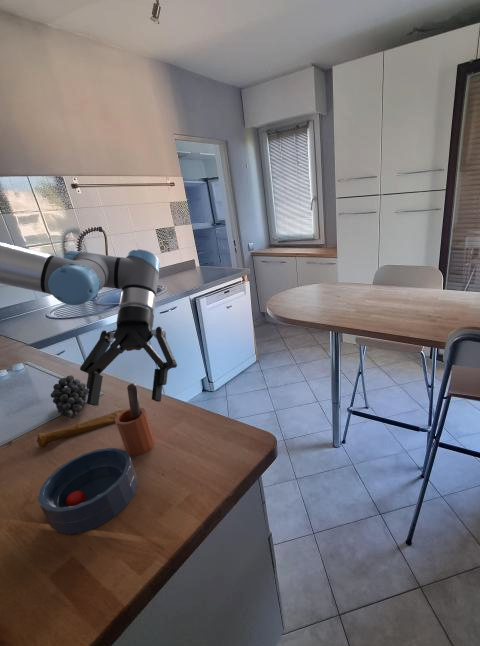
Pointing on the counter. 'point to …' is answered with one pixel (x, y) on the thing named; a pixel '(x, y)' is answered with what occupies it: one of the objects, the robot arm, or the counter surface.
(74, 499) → the tomato
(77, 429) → the primitive tool
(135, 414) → the stick
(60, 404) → the fruit
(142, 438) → the crock
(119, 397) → the counter surface
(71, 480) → the bowl
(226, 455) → the counter surface
